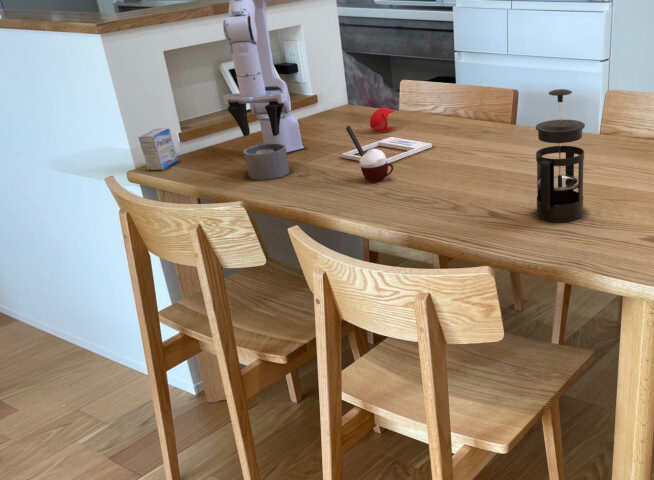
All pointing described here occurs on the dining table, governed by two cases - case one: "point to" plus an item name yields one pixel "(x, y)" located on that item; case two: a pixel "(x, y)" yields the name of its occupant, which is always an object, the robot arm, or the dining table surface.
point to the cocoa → (371, 161)
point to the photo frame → (392, 143)
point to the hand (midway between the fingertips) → (261, 135)
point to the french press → (558, 190)
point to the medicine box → (158, 149)
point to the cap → (380, 120)
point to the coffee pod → (264, 151)
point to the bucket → (266, 162)
